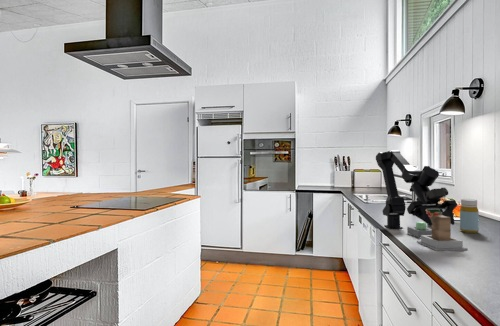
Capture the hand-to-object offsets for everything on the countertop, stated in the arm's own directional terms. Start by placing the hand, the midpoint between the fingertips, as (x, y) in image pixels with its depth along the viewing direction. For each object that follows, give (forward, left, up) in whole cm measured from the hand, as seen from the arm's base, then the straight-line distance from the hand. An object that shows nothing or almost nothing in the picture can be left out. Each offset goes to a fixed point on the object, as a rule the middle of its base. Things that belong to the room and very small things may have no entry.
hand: (442, 224), depth 118 cm
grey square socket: (-1, 0, -9) cm, 9 cm away
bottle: (-22, +29, -9) cm, 37 cm away
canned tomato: (-35, +22, -9) cm, 42 cm away
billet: (-1, 0, -8) cm, 8 cm away
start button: (-18, +3, -8) cm, 20 cm away
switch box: (-18, +3, -9) cm, 20 cm away
